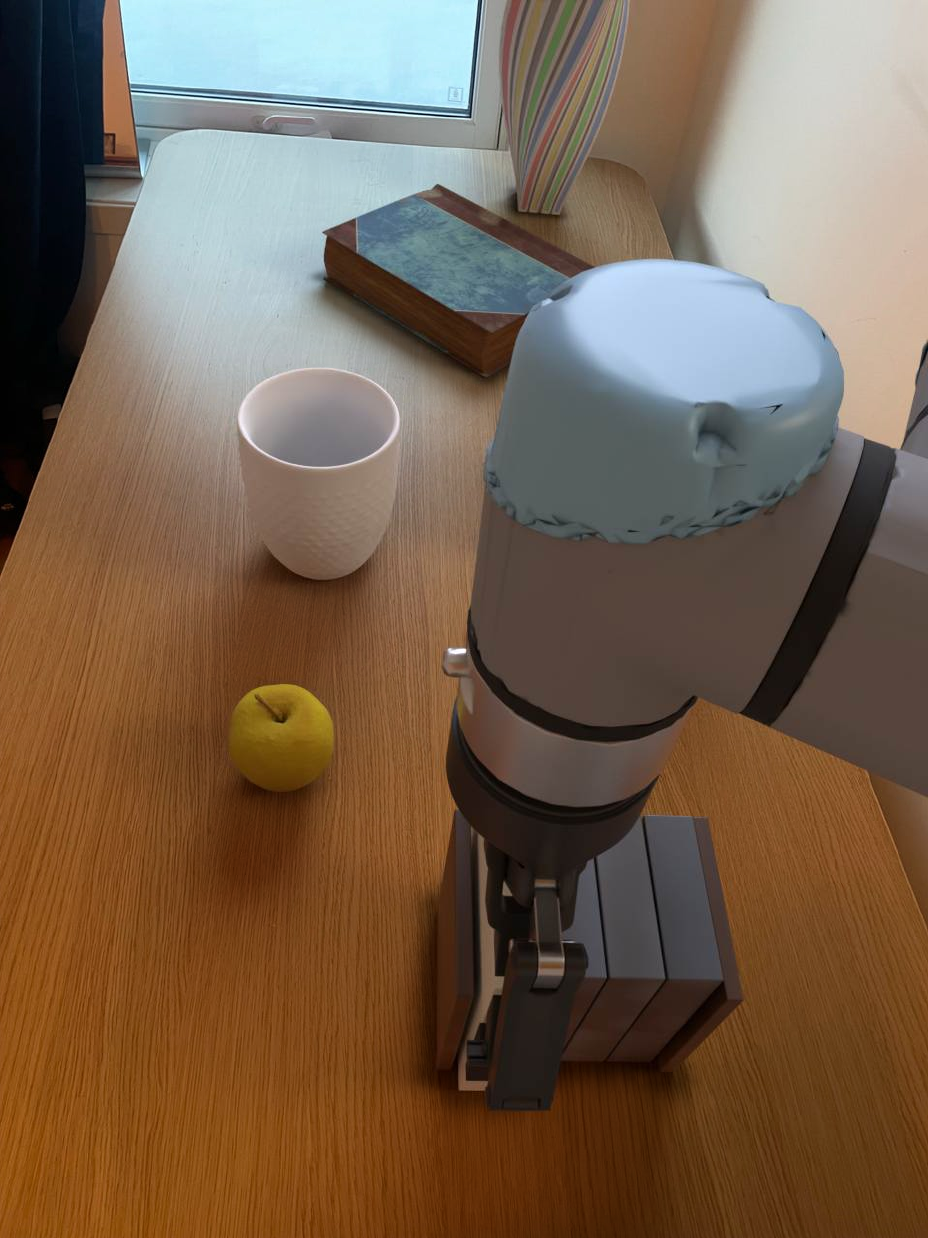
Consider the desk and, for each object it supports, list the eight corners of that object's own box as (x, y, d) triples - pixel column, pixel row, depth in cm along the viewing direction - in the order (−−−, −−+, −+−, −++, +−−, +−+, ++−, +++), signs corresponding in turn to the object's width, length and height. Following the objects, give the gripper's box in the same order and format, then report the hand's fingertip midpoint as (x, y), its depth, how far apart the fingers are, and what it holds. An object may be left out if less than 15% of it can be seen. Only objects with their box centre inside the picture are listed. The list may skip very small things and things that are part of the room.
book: (594, 313, 98) (604, 269, 94) (484, 379, 89) (490, 333, 85) (436, 225, 107) (439, 181, 103) (320, 277, 98) (319, 232, 94)
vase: (482, 226, 108) (518, -93, 85) (480, 171, 116) (512, -131, 93) (598, 236, 109) (665, -76, 86) (588, 181, 117) (645, -116, 94)
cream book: (498, 891, 56) (538, 751, 44) (505, 1091, 49) (556, 990, 37) (456, 890, 56) (485, 749, 44) (458, 1091, 49) (493, 988, 37)
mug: (328, 457, 80) (325, 322, 70) (442, 506, 77) (456, 373, 67) (221, 566, 71) (200, 429, 61) (346, 625, 68) (345, 492, 58)
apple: (224, 744, 61) (210, 671, 55) (320, 719, 63) (316, 646, 57) (246, 829, 57) (233, 761, 51) (347, 800, 59) (346, 731, 53)
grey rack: (650, 911, 56) (714, 807, 47) (673, 1072, 51) (752, 992, 41) (437, 906, 55) (456, 798, 45) (436, 1070, 50) (458, 987, 40)
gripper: (451, 480, 39) (421, 755, 56) (455, 1090, 24) (413, 1216, 41) (627, 490, 40) (545, 759, 57) (737, 1092, 25) (581, 1216, 42)
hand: (489, 951), depth 49 cm, fingers closed on cream book, 11 cm apart
